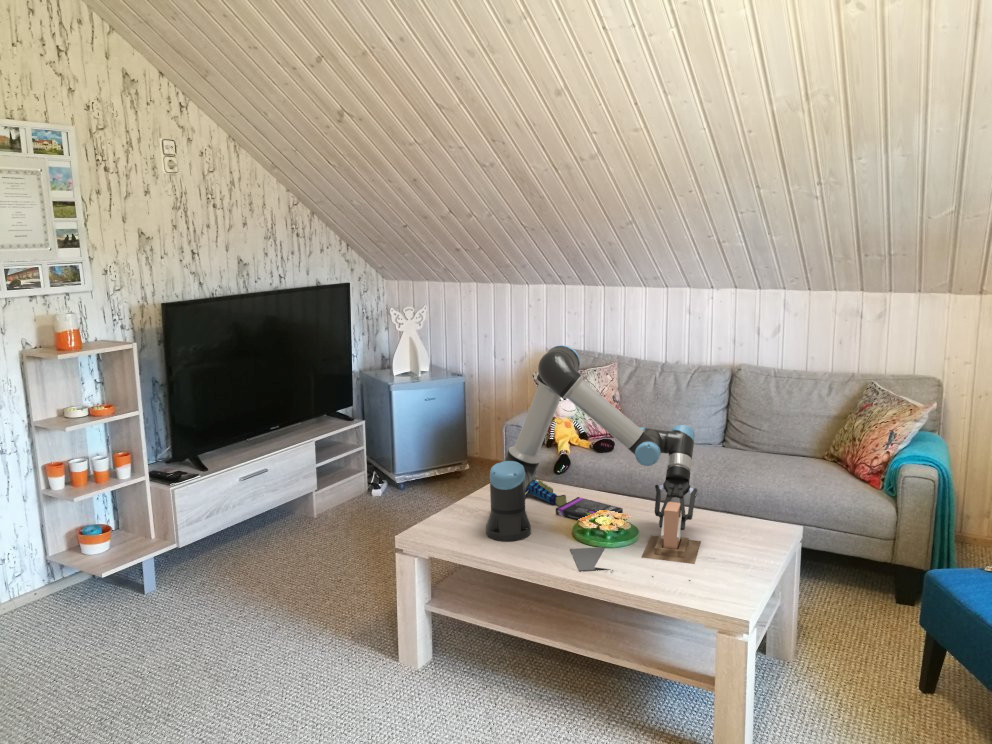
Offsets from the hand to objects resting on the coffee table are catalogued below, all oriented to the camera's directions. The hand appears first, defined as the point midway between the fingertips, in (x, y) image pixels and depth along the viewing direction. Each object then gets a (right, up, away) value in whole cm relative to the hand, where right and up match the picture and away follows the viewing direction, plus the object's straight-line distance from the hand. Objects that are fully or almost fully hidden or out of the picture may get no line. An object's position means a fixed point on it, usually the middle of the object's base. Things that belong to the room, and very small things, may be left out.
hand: (670, 537), depth 246 cm
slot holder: (+1, -6, +5) cm, 8 cm away
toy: (-36, +2, +55) cm, 66 cm away
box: (-20, -1, +39) cm, 44 cm away
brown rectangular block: (+1, -4, +4) cm, 6 cm away
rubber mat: (-21, -7, +2) cm, 23 cm away
